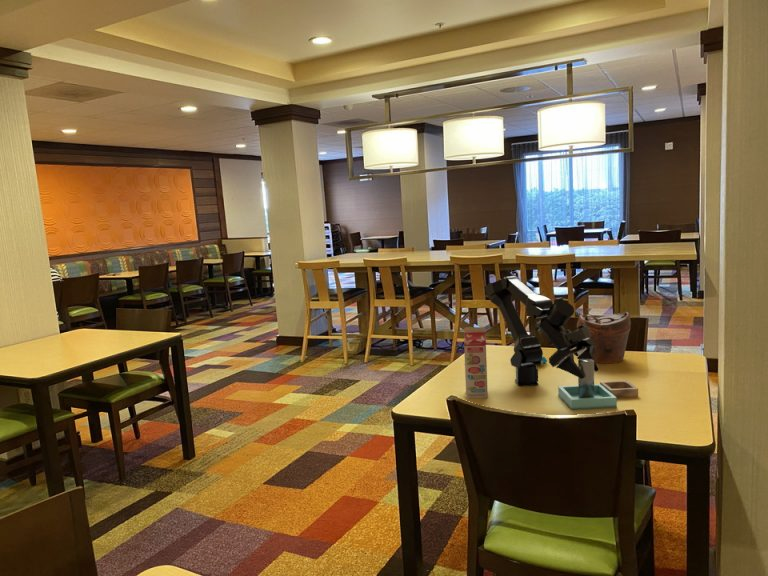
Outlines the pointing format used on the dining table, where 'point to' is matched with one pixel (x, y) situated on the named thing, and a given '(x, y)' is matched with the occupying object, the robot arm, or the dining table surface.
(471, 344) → the juice carton
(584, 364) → the strut
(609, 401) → the bin
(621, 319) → the broken terracotta flower pot
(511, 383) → the dining table surface
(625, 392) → the collar
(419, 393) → the dining table surface
